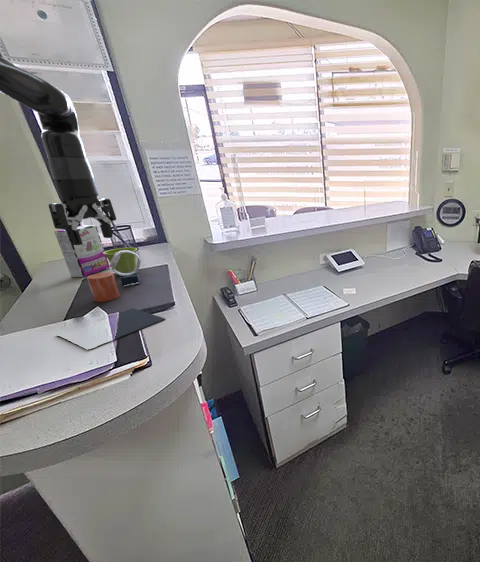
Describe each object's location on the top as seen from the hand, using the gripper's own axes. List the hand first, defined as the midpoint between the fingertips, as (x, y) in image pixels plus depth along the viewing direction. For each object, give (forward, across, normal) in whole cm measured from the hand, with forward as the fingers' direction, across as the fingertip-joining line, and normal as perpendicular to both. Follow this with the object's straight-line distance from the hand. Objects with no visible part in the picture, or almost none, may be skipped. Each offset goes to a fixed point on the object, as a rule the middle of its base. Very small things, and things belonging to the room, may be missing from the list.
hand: (93, 241), depth 82 cm
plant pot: (+18, -23, -16) cm, 33 cm away
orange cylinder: (+18, -2, -4) cm, 18 cm away
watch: (+18, -14, -7) cm, 23 cm away
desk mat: (+18, +14, +14) cm, 26 cm away
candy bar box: (+18, -22, -30) cm, 42 cm away
